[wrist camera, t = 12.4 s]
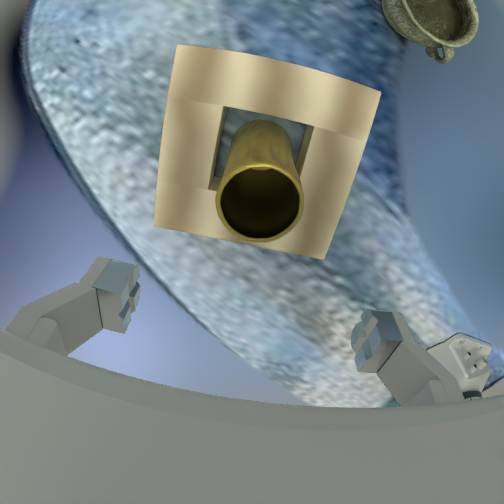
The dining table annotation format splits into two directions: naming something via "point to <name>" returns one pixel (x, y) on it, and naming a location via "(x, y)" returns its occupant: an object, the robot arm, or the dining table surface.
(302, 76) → the hole block
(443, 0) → the vessel
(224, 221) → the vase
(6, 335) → the robot arm
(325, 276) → the dining table surface
